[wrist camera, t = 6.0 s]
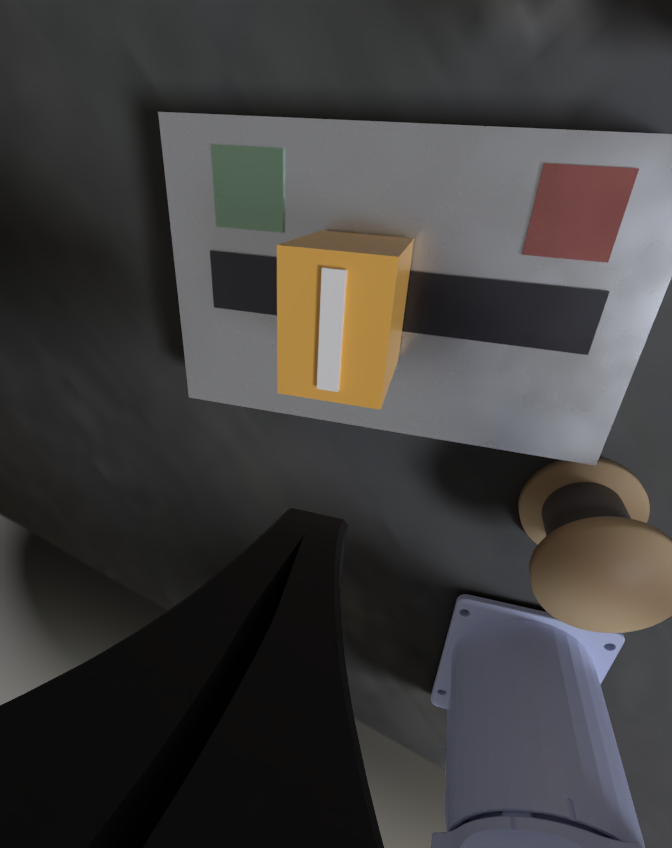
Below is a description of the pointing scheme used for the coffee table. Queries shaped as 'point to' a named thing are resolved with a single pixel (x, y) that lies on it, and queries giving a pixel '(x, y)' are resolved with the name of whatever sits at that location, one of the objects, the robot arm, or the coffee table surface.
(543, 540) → the reel
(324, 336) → the toggle
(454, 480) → the coffee table surface
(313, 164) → the panel
